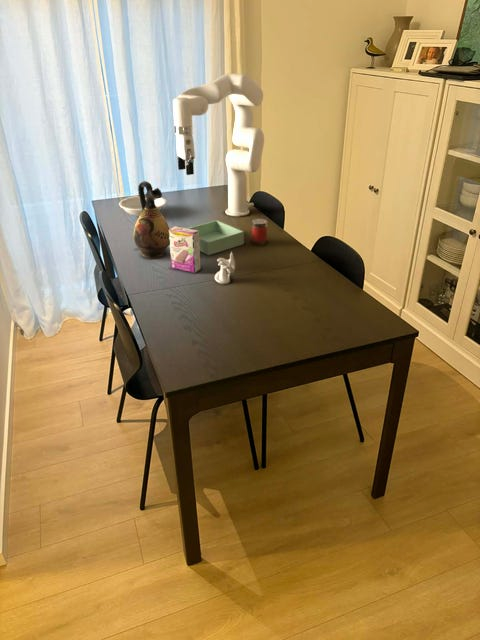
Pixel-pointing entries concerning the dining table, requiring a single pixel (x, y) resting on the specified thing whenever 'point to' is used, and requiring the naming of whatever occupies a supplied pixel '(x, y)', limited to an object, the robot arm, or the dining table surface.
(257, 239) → the red glass jar
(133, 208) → the soup bowl
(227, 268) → the figurine
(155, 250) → the ceramic jug
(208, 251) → the green square tray
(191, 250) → the candy bar box
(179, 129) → the robot arm
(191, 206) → the dining table surface
